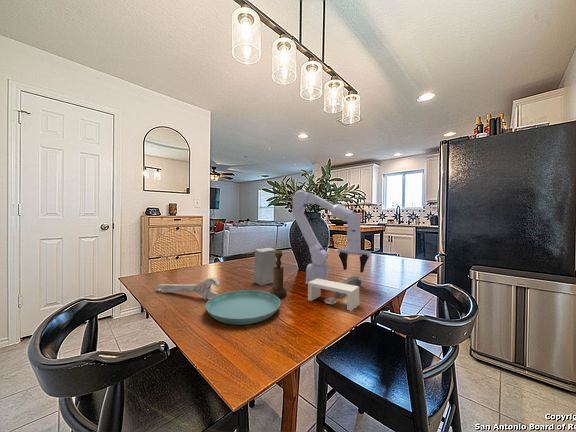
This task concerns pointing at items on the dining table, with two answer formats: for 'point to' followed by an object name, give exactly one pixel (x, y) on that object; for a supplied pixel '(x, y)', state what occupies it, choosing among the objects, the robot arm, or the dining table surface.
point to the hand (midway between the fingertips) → (353, 270)
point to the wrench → (192, 288)
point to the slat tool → (351, 281)
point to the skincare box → (264, 265)
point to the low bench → (350, 290)
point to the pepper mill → (278, 278)
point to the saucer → (242, 307)
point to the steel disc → (330, 301)
